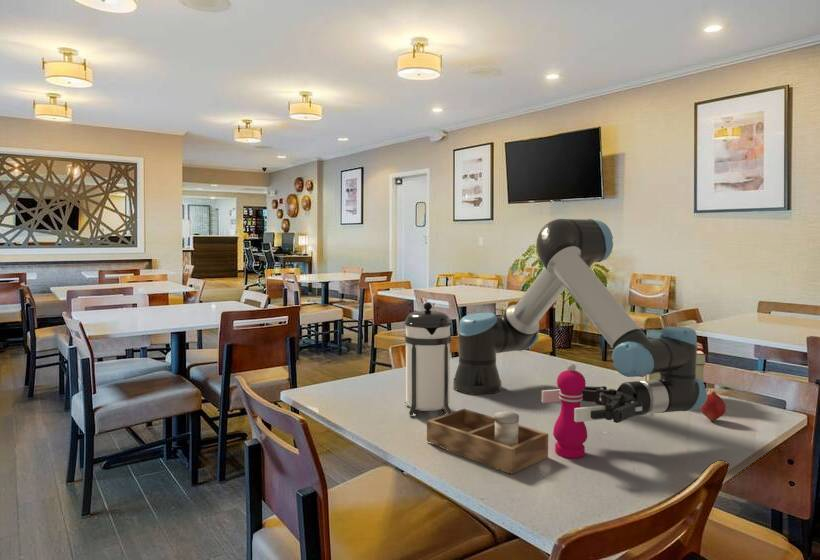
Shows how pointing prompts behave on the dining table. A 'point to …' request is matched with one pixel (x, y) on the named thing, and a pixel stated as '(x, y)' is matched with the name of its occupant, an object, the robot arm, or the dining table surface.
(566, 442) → the pepper mill
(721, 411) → the onion
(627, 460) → the dining table surface
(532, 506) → the dining table surface
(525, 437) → the caddy
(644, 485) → the dining table surface
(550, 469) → the dining table surface
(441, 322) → the coffee press
